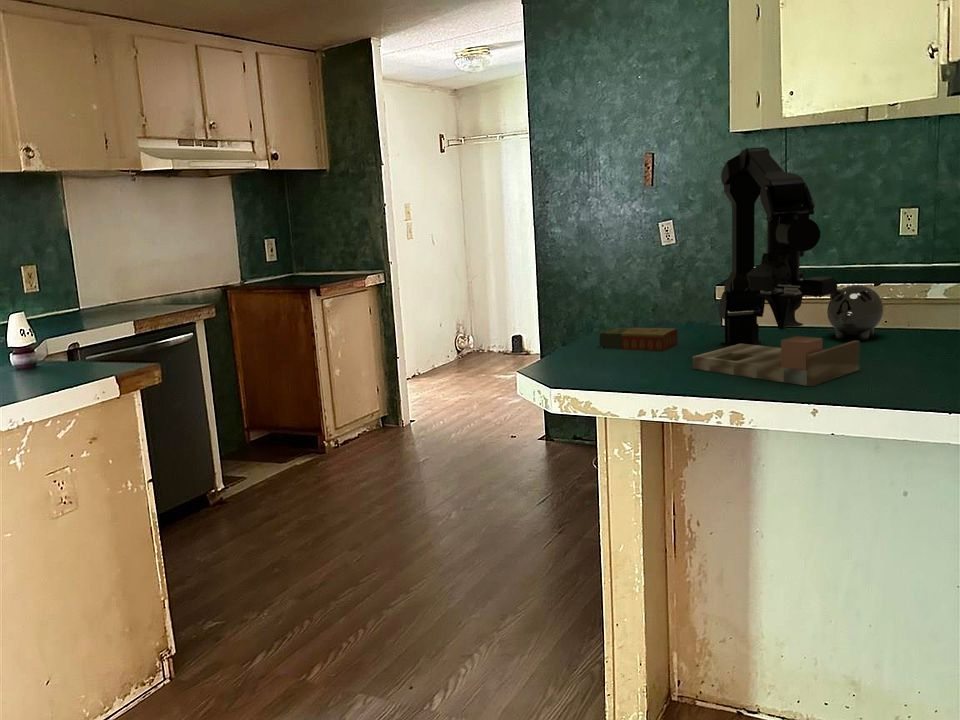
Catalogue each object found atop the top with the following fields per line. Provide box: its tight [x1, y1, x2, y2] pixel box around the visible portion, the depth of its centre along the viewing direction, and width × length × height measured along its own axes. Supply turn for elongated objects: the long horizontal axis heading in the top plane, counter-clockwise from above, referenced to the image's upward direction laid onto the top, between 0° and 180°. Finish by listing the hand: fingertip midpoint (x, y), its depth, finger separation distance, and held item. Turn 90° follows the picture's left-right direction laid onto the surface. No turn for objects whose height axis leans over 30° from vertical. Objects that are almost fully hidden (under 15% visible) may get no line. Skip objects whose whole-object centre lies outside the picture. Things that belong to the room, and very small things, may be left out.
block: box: [780, 335, 823, 371], centre depth 148 cm, size 5×5×5 cm
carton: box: [599, 326, 679, 352], centre depth 190 cm, size 8×16×4 cm, turn 56°
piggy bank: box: [826, 284, 884, 341], centre depth 182 cm, size 11×15×12 cm
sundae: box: [782, 278, 804, 328], centre depth 202 cm, size 7×7×15 cm
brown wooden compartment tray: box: [692, 339, 861, 387], centre depth 158 cm, size 26×16×6 cm, turn 38°
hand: (782, 329), depth 157 cm, fingers closed
